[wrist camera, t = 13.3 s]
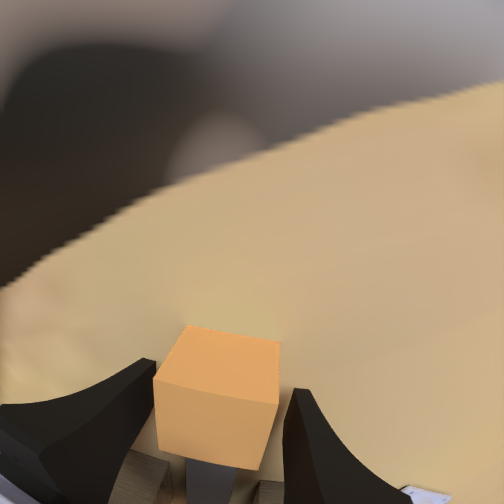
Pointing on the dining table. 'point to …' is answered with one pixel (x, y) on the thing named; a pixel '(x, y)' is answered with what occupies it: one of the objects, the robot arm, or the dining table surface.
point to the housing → (167, 483)
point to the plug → (216, 407)
